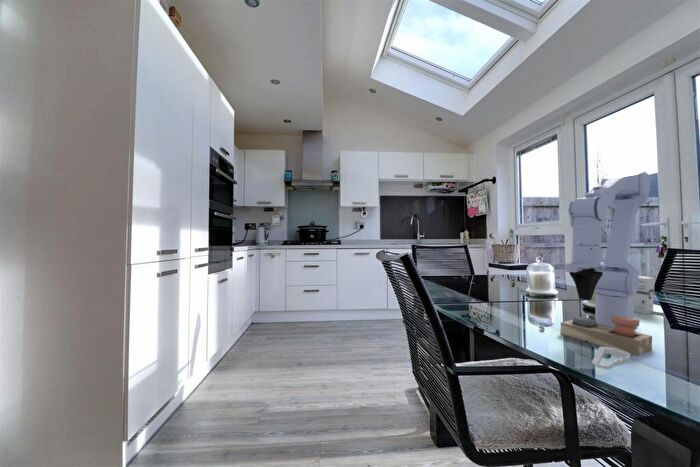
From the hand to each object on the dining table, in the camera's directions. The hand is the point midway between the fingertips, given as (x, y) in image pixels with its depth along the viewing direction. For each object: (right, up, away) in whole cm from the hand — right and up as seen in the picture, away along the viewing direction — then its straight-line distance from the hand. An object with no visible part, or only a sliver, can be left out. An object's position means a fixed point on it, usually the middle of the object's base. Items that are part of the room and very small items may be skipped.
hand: (585, 299), depth 77 cm
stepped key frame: (-5, -10, -14) cm, 18 cm away
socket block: (+2, -9, -3) cm, 10 cm away
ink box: (+37, -10, +27) cm, 47 cm away
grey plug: (0, -9, 0) cm, 9 cm away
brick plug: (+4, -7, -7) cm, 10 cm away
